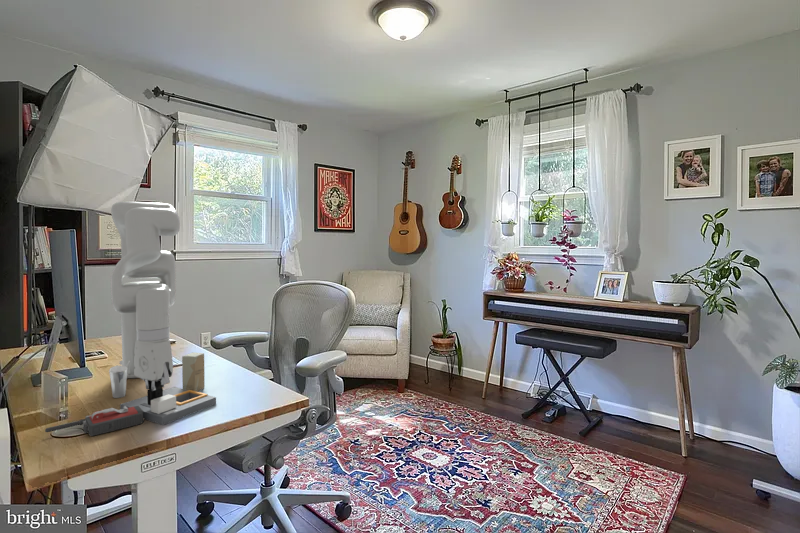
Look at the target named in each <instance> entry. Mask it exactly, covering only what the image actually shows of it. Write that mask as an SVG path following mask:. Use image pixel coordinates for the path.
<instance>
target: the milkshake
mask: <svg viewBox="0 0 800 533" xmlns="http://www.w3.org/2000/svg"><path fill="white" fill-rule="evenodd" d="M128 364H129V361H128ZM128 364H127V366H128ZM127 366H122V365H119V364H118V365H115V366H111V367H110V369H109V370H108V374H109V378H110V383H111V384H110V385H111V393H112V398H113V399H121V398H124V397H126V395H127V379H128V378H127Z"/></svg>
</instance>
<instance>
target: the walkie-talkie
mask: <svg viewBox="0 0 800 533" xmlns="http://www.w3.org/2000/svg"><path fill="white" fill-rule="evenodd" d="M123 408H124V409H121V410H120V409H117V408H115V407H114V408H113V407H110V408H109V407H108V408H105V409H100V410H95V411H94V412H92V413H91V414H90V415H86V416H85V417H84V418H83V419H79V420H75V421H72V422H67V423H63V424H58V425H55V426H50V427H47V428H45V430H44V432H45V433H50V432H55V431H59V430H60V431H61V430H63V429H68V428H72V427H76V426H82V429H83V432H84V434H88V435H89V436H90V437H94V436H98V435H103V434H106V433H110V432H115V431H119V430H122V429H126V428H131V427H135V426H138V425H141V424H142V423H144V419H143V410H142V409H141V408H140V407H139V406H134V407H130V408H127V407H126V406H124V407H123Z"/></svg>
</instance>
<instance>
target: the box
mask: <svg viewBox="0 0 800 533" xmlns="http://www.w3.org/2000/svg"><path fill="white" fill-rule="evenodd" d="M181 363H182V364H181V365H182V366H181V367H182V369H181V370H182V374H181V375H182V377H181V378H182V381H181V382H182V389H185V390H193V391H197V392H200V391H202V389H204V388H205V387H206V385H205V384H206V383H205V353H203V352H190V353H188V354H185V355H182V357H181Z"/></svg>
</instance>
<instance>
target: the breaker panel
mask: <svg viewBox="0 0 800 533" xmlns="http://www.w3.org/2000/svg"><path fill="white" fill-rule="evenodd" d="M168 394H170V395H173V396H176V408H173V409H171V410H168V411H165V412H162V413H160V414H157V413H154V412H151V405H148V399H147V395H145V396H142V397H139V398H136V399H133V400H129V401H126V402H123V403H120V405H119V410H121V409H124V408H123V407H124V406H126V407H127V408H130V407H134V406H139V407H140V408H141V409H142V410H143V420H146V421H149V422H152V423H154V424H155V423H156V424H158V425H160V426H164V425H167V424H169V423H172V422H174V421H177V420H179V419H182V418H184V417H188V416H189V415H190V416H191V415H192V414H194V413H197V412H199V411H202V410H205V409H208V408H210V407H212V406H215V405H217V397H216V396H213V395H208V393H204V392H201V391H193V390H185V389H183V388H180V387H176V386H173V387H169V388H167V389H163V396H165V395H168Z"/></svg>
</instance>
